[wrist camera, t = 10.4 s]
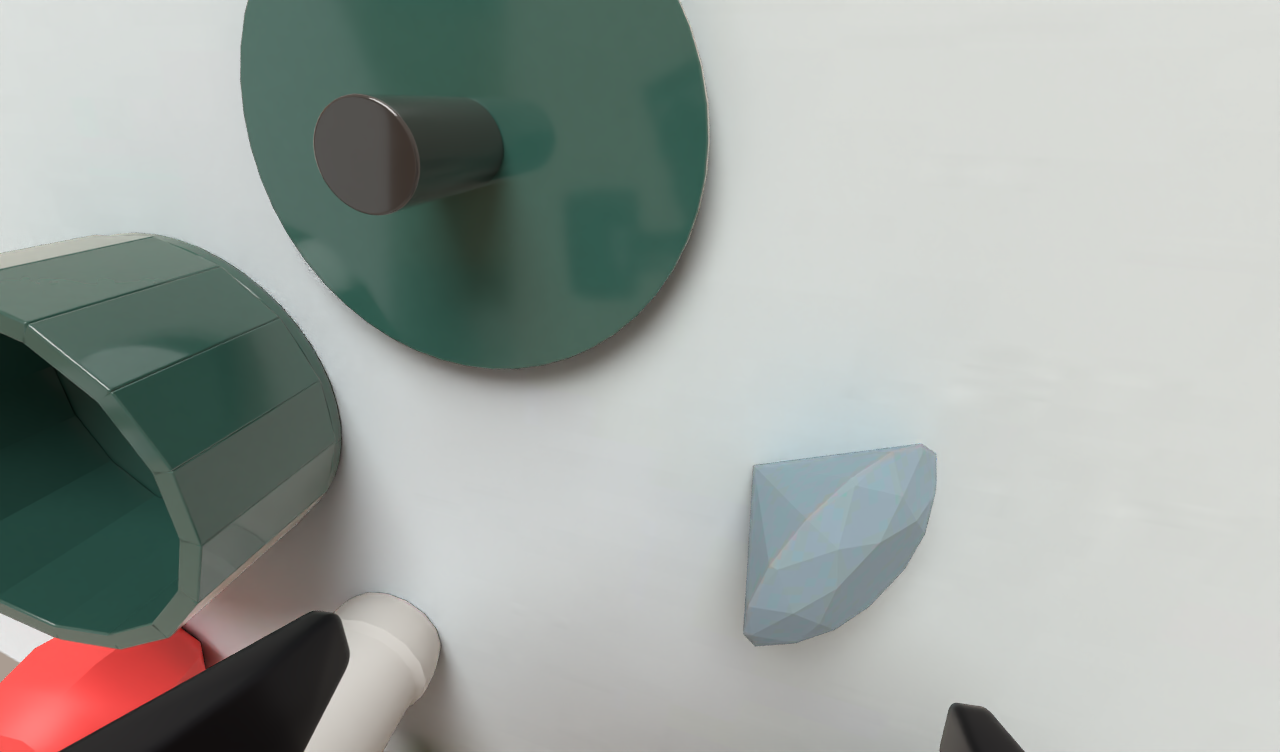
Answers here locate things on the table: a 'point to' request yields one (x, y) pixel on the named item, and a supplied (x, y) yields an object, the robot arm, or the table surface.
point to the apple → (87, 688)
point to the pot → (147, 434)
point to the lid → (481, 162)
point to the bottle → (377, 673)
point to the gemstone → (831, 537)
